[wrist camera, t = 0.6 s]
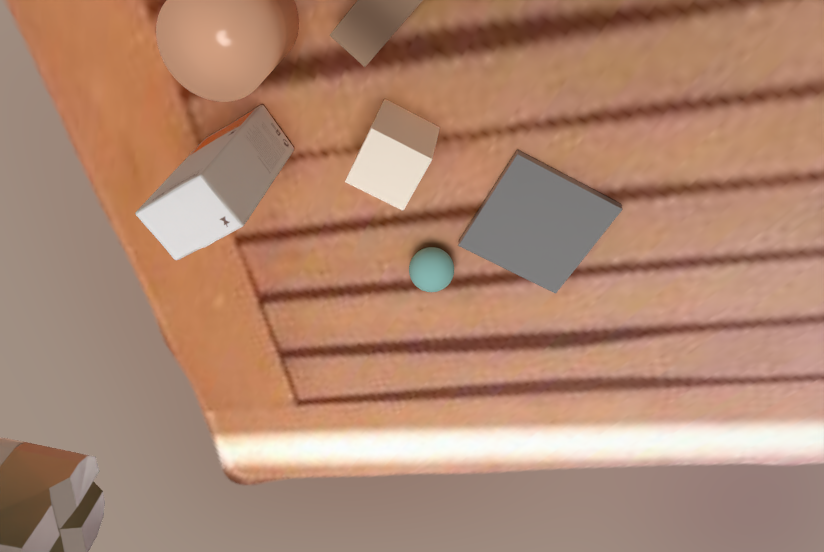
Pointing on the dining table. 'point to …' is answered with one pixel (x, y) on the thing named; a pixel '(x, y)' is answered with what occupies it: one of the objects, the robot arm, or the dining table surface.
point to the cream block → (394, 155)
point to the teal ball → (431, 269)
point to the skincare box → (217, 184)
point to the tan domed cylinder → (225, 43)
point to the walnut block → (371, 26)
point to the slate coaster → (538, 222)
